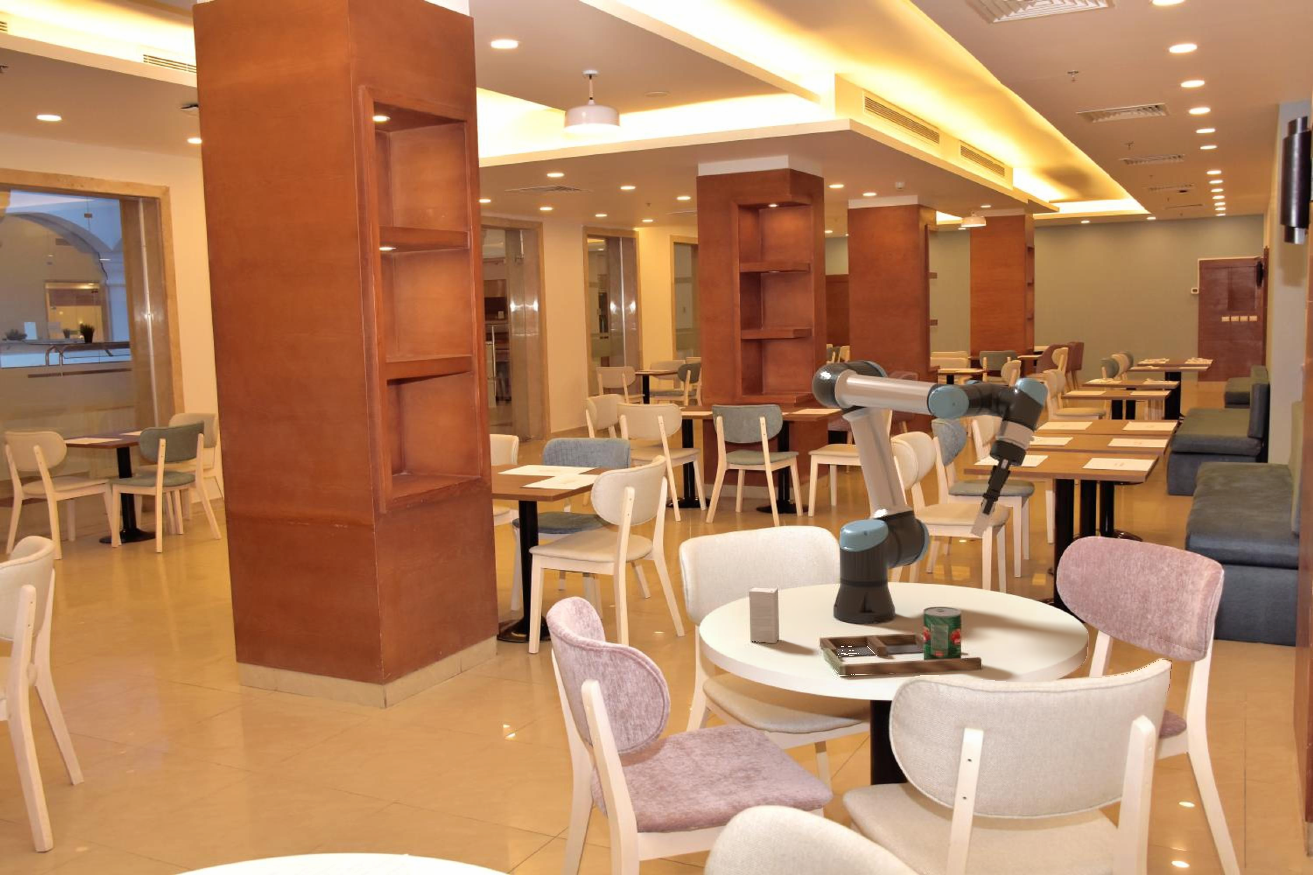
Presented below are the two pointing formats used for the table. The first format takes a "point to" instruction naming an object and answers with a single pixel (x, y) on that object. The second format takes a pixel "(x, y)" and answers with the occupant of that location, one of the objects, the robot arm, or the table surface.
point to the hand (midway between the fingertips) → (977, 532)
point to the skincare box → (764, 615)
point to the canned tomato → (942, 633)
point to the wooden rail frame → (888, 646)
